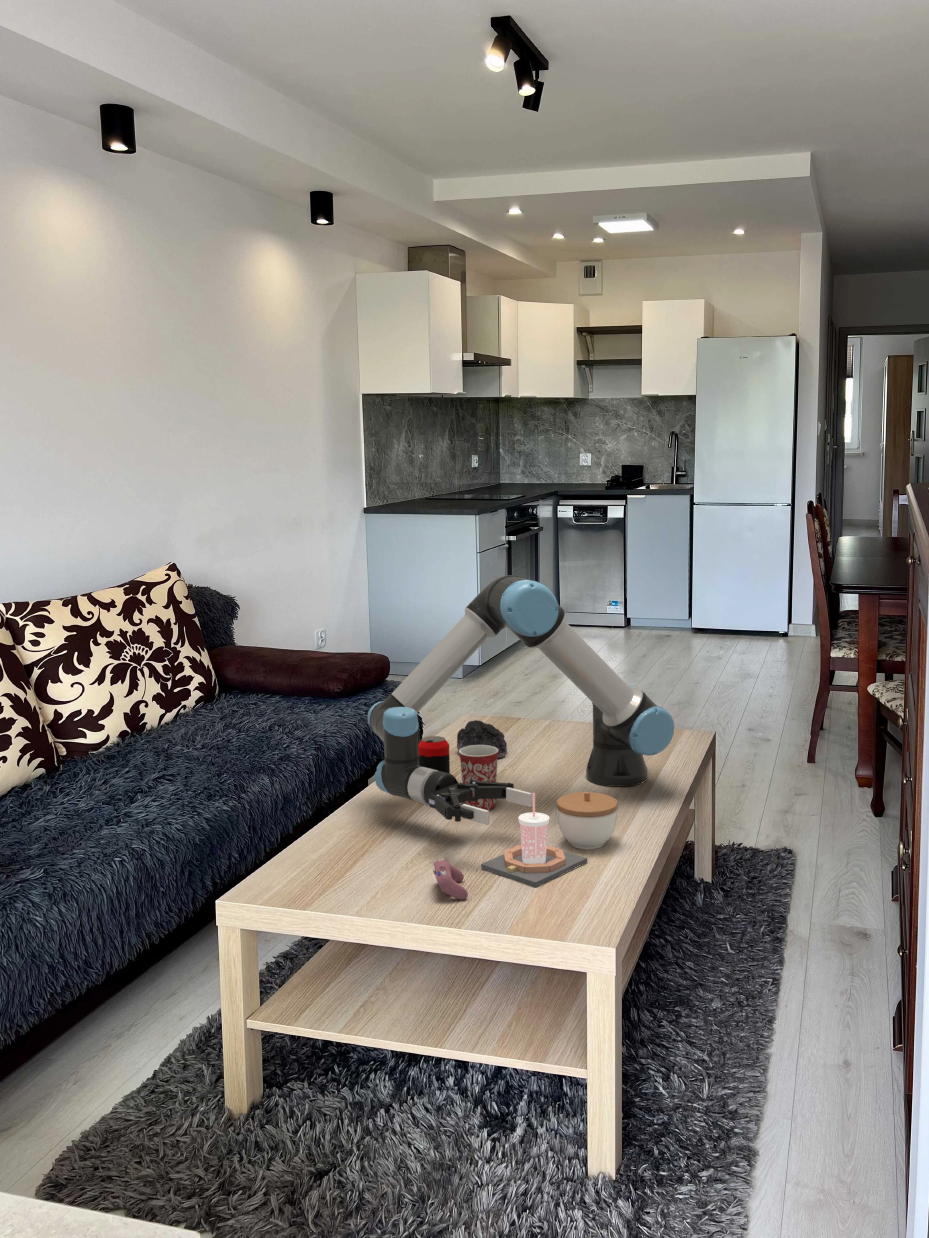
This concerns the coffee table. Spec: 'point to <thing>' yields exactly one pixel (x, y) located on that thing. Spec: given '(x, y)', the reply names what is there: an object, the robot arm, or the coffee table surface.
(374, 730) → the robot arm
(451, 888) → the video game controller
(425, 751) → the soda can
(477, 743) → the black rock
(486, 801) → the mug
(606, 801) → the lidded bowl
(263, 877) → the coffee table surface
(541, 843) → the beverage cup
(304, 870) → the coffee table surface
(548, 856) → the ring board
